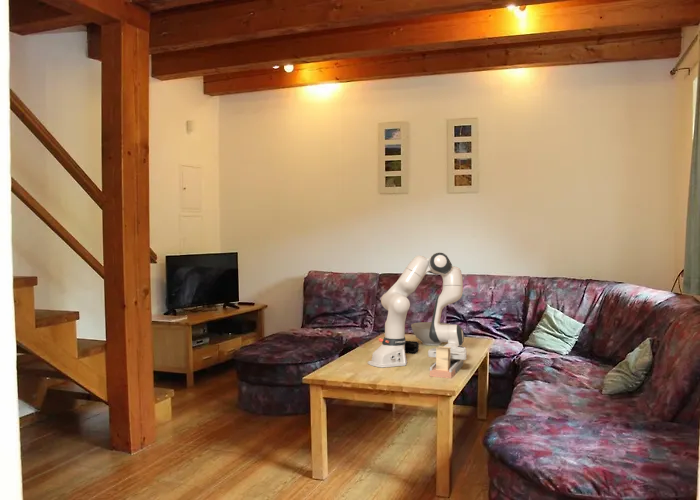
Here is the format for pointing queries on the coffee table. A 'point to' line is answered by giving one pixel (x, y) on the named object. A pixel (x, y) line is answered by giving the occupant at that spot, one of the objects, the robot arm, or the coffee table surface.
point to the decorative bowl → (424, 332)
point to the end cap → (411, 347)
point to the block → (443, 358)
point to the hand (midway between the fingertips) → (444, 357)
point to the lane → (454, 368)
